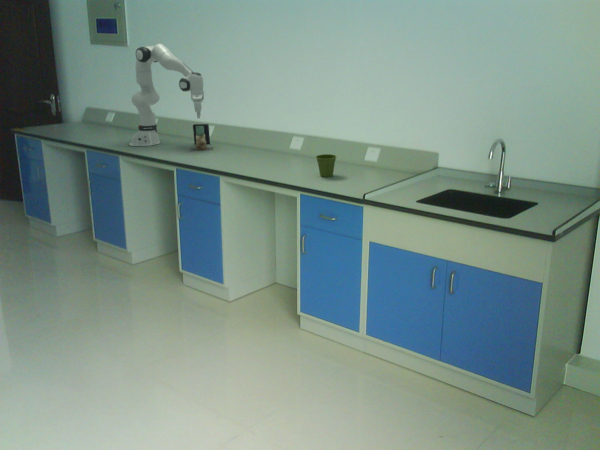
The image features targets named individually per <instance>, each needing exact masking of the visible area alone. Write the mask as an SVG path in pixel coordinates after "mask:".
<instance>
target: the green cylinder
mask: <svg viewBox="0 0 600 450" xmlns="http://www.w3.org/2000/svg"><path fill="white" fill-rule="evenodd" d="M196 135H197V136H202V135H204V126H196Z"/></svg>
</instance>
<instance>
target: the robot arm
mask: <svg viewBox="0 0 600 450" xmlns="http://www.w3.org/2000/svg"><path fill="white" fill-rule="evenodd" d="M135 57H136V59H135V77H136V78H135V79H136V83H137V85H138V86H139V87H140V90H141V91H138V92H135V93H134V94H132V96H131V103H132V105H133V106H134V107H135V108H136V109H137V111H138V114H139V119H140V121H139V122H140V124H139V125H138V126H137V128H138V130H137V131H136V133H134V134H133V135H132V136H131V142H129V143H128V144H129V145H130V147H151V146H154V145H159V144H160V143H161V141H160V138H159V135H158V126H157V125H158V124H157V121H156V113H155V112H153V110H152V108H151V106H153V105H155V104H157V103H158V102H159V100H160V94H159V92H158V91H157V90H156V88H155V86H154V83H153V82H154V81H153V75H152V63H159V65H160V66H161V67H162V68H164V69H165V70H169V71H174V72H178V73H181V74H182V75H183V76H184V77H182V78H180V79H179V82H178V86H179V89H180V90H181V91H182V92H185V93H186V92H190V99H191V100H192V102H193V106H194V107H193V108H194V112H195V113H196V116H197V119H201V111H202V103H203V102H204V101H203V100H205V94H204V93H205V91H204V79H203V76H202V73H200V72H194V71H193V70H192V69H191V68H189V66H187V64H186V63H184V61H182V60H180V59H179V58H177V57H176V56H175V55H174V54H173V53H172V51H171V50H170V49H169V48H168V47H167V46H165V45H164V44H162V43H156V44H155V45H147V46H139V47H138V48H137V49H136V51H135Z"/></svg>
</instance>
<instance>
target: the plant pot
mask: <svg viewBox="0 0 600 450" xmlns="http://www.w3.org/2000/svg"><path fill="white" fill-rule="evenodd" d="M315 159H316V160H317V165H318V170H319V175H320V177H321V176H322V177H324V178H330V177H333V175H334V170H335V163H336V159H337V155H336V154H331V153H330V154H329V153H325V154H318V155H316V156H315Z"/></svg>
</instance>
